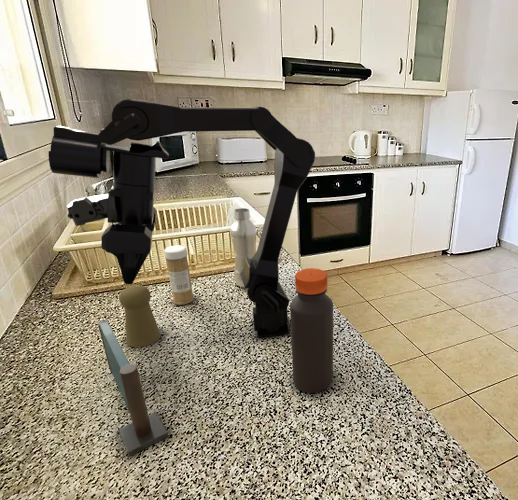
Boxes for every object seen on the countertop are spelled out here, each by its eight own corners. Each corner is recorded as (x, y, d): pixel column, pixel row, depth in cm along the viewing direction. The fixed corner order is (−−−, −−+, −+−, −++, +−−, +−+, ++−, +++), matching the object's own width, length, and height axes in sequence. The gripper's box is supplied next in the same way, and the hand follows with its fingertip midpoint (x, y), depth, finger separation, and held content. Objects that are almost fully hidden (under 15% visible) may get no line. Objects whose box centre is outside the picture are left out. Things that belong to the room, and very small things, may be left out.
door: (118, 366, 65) (107, 319, 61) (145, 421, 54) (133, 367, 50) (109, 369, 64) (97, 322, 60) (134, 426, 53) (121, 372, 49)
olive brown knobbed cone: (146, 349, 71) (135, 298, 67) (118, 344, 72) (106, 294, 68) (167, 331, 76) (158, 283, 72) (141, 327, 78) (131, 280, 74)
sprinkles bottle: (195, 295, 91) (187, 244, 86) (192, 304, 87) (184, 251, 82) (175, 297, 90) (166, 245, 85) (171, 306, 86) (161, 252, 81)
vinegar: (288, 372, 66) (283, 269, 58) (325, 363, 68) (324, 263, 61) (299, 399, 60) (295, 287, 53) (338, 387, 62) (340, 280, 55)
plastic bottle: (238, 292, 93) (230, 215, 86) (232, 281, 98) (225, 208, 91) (263, 287, 96) (258, 212, 88) (256, 277, 101) (251, 205, 94)
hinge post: (157, 415, 56) (143, 352, 52) (168, 436, 53) (154, 370, 48) (119, 433, 53) (102, 367, 49) (128, 457, 49) (110, 387, 45)
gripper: (85, 166, 64) (85, 251, 68) (54, 187, 48) (58, 297, 52) (158, 175, 69) (154, 254, 73) (152, 197, 53) (148, 297, 57)
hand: (131, 272), depth 64 cm, fingers open, 9 cm apart
